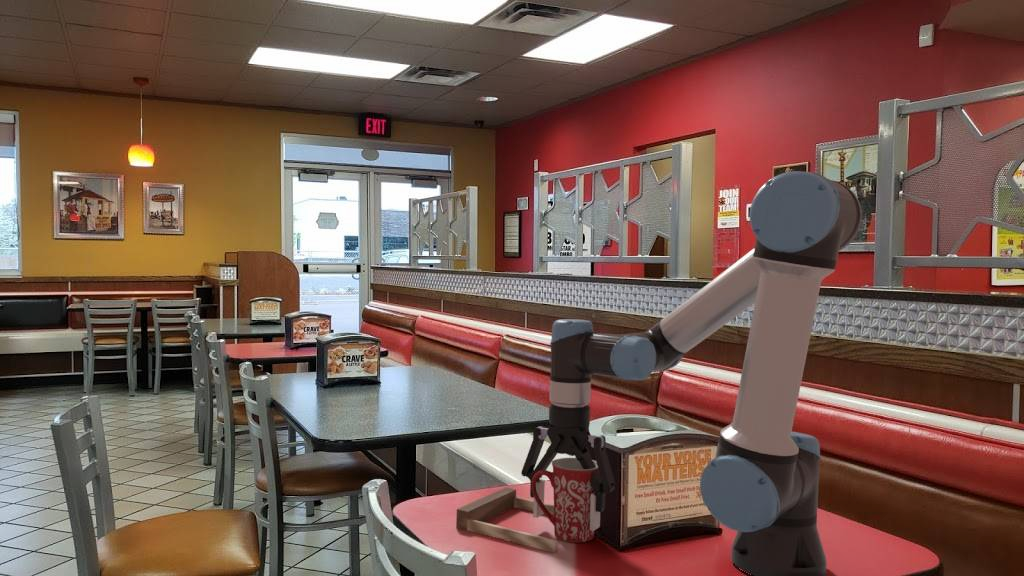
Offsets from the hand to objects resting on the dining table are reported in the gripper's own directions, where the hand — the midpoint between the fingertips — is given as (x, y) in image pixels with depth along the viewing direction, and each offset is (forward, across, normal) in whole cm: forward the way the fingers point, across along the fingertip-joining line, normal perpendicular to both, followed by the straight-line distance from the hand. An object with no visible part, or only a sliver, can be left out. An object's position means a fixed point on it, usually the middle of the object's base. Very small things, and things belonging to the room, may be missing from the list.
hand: (566, 521), depth 137 cm
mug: (+3, 0, 0) cm, 3 cm away
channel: (+3, +8, 0) cm, 8 cm away
